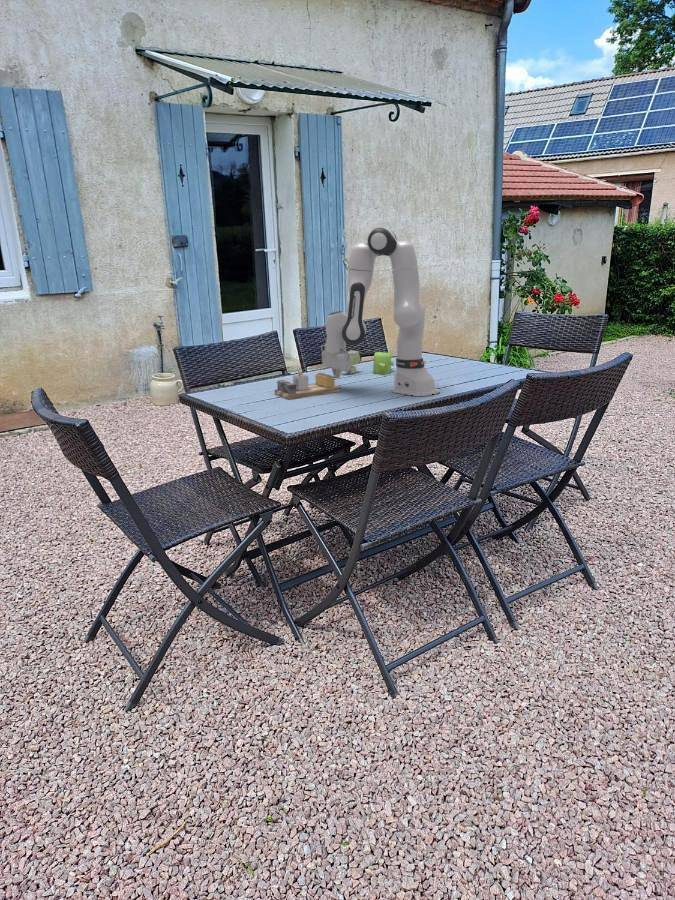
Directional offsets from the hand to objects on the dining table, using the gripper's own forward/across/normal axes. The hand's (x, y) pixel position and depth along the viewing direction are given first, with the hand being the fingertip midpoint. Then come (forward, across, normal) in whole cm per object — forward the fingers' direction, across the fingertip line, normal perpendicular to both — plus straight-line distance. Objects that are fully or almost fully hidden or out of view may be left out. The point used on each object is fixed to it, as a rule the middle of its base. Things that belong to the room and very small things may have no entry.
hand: (336, 378), depth 305 cm
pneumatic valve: (+5, +26, -24) cm, 36 cm away
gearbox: (+5, +18, -39) cm, 44 cm away
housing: (+2, 0, +19) cm, 19 cm away
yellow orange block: (+2, 0, +6) cm, 7 cm away
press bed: (+5, 0, +15) cm, 16 cm away
